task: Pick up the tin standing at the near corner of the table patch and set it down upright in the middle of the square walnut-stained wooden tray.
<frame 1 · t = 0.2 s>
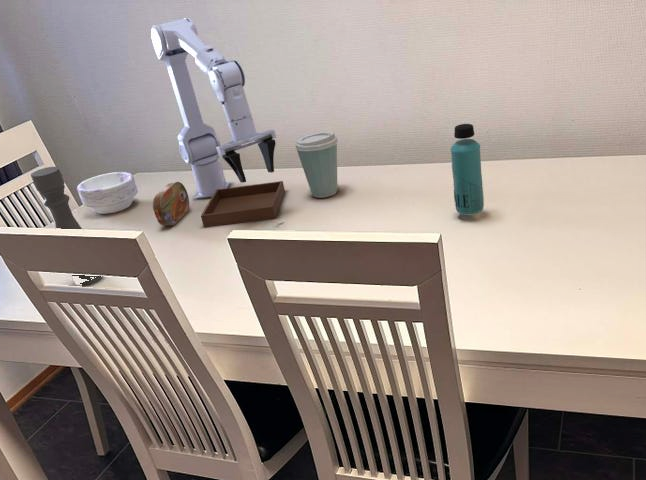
hand: (257, 177, 168), 11 cm above the table, tool pointing down, fingers open, 7 cm apart
beverage bottle: (470, 216, 157), on the table
disposable coffee cup: (325, 193, 182), on the table
candle holder: (89, 280, 158), on the table
paper bowls: (114, 208, 197), on the table
tin: (176, 219, 182), on the table
tray: (245, 208, 181), on the table
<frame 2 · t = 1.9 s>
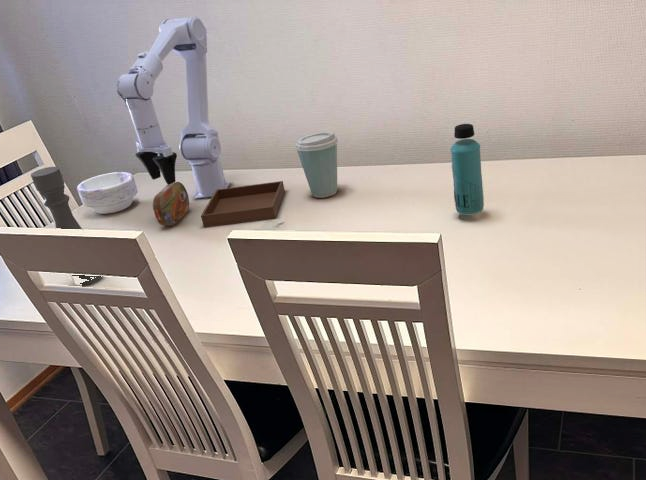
hand: (163, 180, 177), 10 cm above the table, tool pointing down, fingers open, 7 cm apart
nothing on the table moved.
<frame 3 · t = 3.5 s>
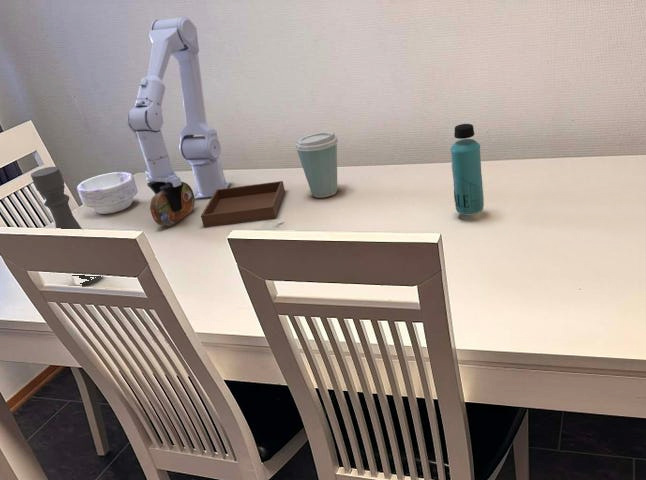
hand: (172, 208, 181), 3 cm above the table, tool pointing down, fingers closed on tin, 4 cm apart
tin: (177, 219, 182), on the table, touching gripper
everything else where it was.
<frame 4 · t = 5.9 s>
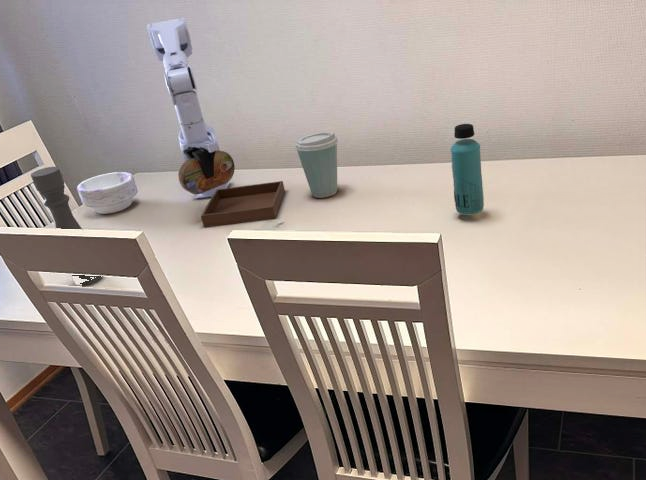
hand: (206, 176, 176), 10 cm above the table, tool pointing down, fingers closed on tin, 2 cm apart
tin: (210, 188, 178), point 7 cm above the table, touching gripper
everything else where it was.
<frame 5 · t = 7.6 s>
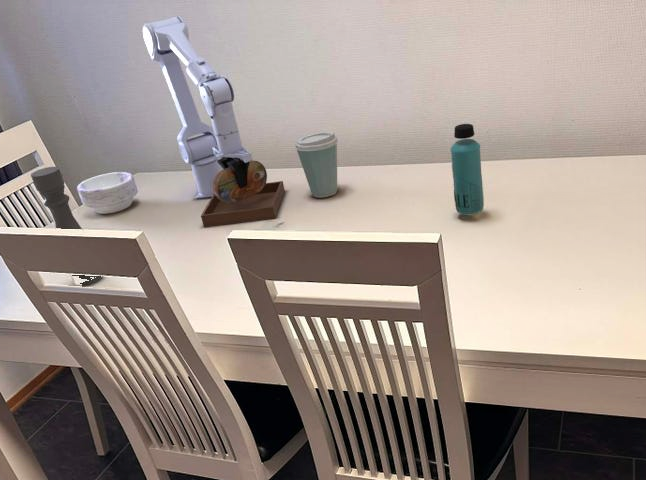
hand: (240, 185, 178), 6 cm above the table, tool pointing down, fingers closed on tin, 2 cm apart
tin: (243, 197, 180), point 3 cm above the table, touching gripper
everything else where it was.
when the fingers open (4 cm above the table, at t = 8.6 s): tin stays where it is, resting on tray.
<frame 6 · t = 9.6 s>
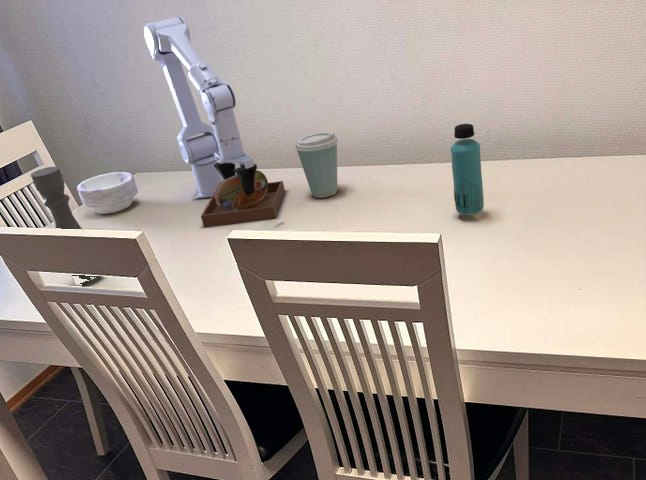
hand: (241, 191, 179), 5 cm above the table, tool pointing down, fingers open, 7 cm apart
tin: (245, 207, 181), resting on tray
everything else where it was.
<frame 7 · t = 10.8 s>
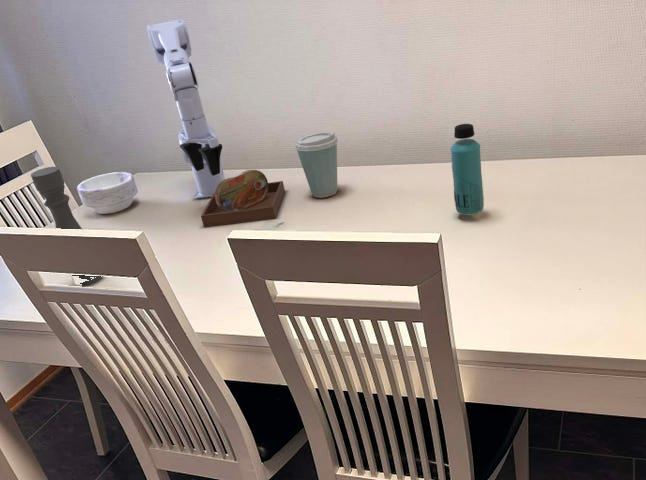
hand: (207, 172, 177), 10 cm above the table, tool pointing down, fingers open, 7 cm apart
nothing on the table moved.
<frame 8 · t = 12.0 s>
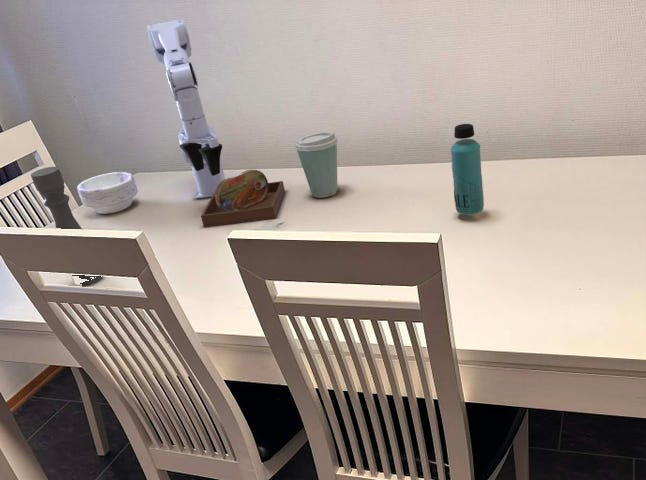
hand: (207, 172, 177), 10 cm above the table, tool pointing down, fingers open, 7 cm apart
nothing on the table moved.
at the end: tin inside the target area in the tray (0.4 cm from its centre), point 0.3 cm above the tray's base; tin tilted 0°; the gripper is holding nothing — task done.
